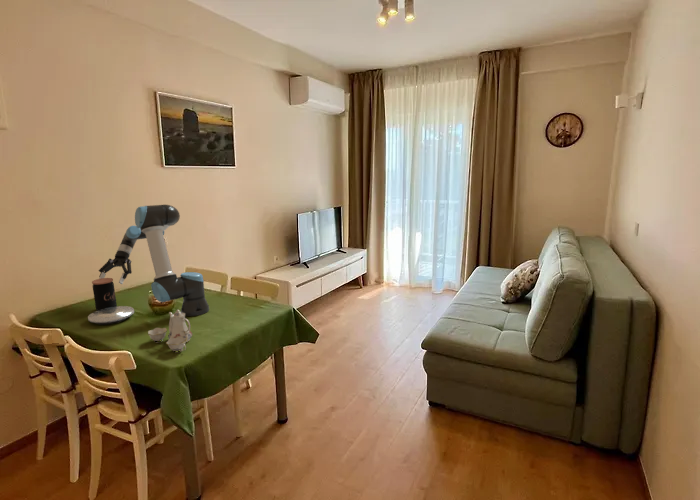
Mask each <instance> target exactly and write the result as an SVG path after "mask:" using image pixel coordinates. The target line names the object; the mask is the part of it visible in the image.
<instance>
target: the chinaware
mask: <svg viewBox="0 0 700 500" xmlns="http://www.w3.org/2000/svg"><path fill="white" fill-rule="evenodd" d="M168 314H169V323H168V330H167V327H163V328H162V327H155V328H153V329H151V330H148V331H147V335H148V336H149V338H150V339H151V340H153V341H154V342H155V341H160V340H162V341H163V339H164V338H165V337H166V334H167V332H168V331H169V333H168V335H167V338H168V340H167V341H165V344H166V345H167V346H168V348H169V349H170V350H171V351H172V352H174V351H179V350H180V352H183V351H186V349H187V346H186V344H187V343H189V342H191V339H192V336H193V332H192V331H191V323H190V320H189V319H187V318H186V316H185V313H182V312H181V310H179V309H176V311H175V312H174V313H172V312H171V311H169V312H168ZM186 322H187V323H186ZM187 325H188V326H187ZM188 341H189V342H188ZM186 342H187V343H186Z"/></svg>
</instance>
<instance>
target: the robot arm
mask: <svg viewBox="0 0 700 500" xmlns="http://www.w3.org/2000/svg"><path fill="white" fill-rule="evenodd" d="M180 217H181V215H180V212H179V210H178V209H177V208H176V207H175V206H173V205H170V204H156V205H155V204H153V205H143V206H138V207H136V209H135V213H134V222H135V223H134V224H135V225H130V226H129V227H128V228H127V229H126V231H125V233H124V235H123V238H122V240H121V242H120V244H119V246H118V248H117V250H116V252H115V255H114V259H112V258H109V259H108V260H107V261H106V263H104V265H102V267H100V268H99V269H98V272H100V274H99V278H98V279H101V278H106V274H107V273H108V272H110V271H111V270H112V269H114V268H117V267H119V268H122V270H123V272H122V273H121V276H120V278H119V280H118V283H119V284H120V285H124V281H125V280H126V279H127V277H128V275H130V274H132V272H133V271H132V265H131V264H132V260H131V259H130V255H131V253H132V251H133V249H134V246H135V244H136V243H137V241H138V240H145V239H146V242H147V246H148V250H149V254H150V258H151V262H152V266H153V270H154V273H155V274H154V275H155V277H154V278H153V282H151V287H150V288H151V292H152V295H153V297H154V298H155V299H156V300H157V301H158V302H160V303H164V302H170V301H174V300H177V299H183V301H182V305H181V309H180V312H182V313H185V317H195V316H201V315H203V314H206V313H208V312H209V311H210V306H209V303H208V300H207V299H206V295H205V282H204V276H203V274H202V273H200V272H196V271H195V272H194V271H191V272H190V271H186V272H182V273H180V276H179V277H178V276H177V273H176V272H173V269H172V265H171V261H170V257H169V254H168V253H169V251H168V249H167V245H166V241H165V237H164V235H165V231H166V230H167V229H168V228H169V227H171V226H175V225H176V224H177V223H178V222H179V221H180V219H181V218H180Z"/></svg>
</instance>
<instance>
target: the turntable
mask: <svg viewBox="0 0 700 500" xmlns="http://www.w3.org/2000/svg"><path fill="white" fill-rule="evenodd" d="M134 313H135V309H134V308H133V307H132V306H127V305H120V306H119V305H118V306H117V307H110V308H105V309H101V310H98V311H97V310H96V311H92V312H91V313H90V314H88V316H87V320H88V322H90V323H92V324H96V323H108V322H114V321H118V320H122V319H125V318H127V317H128V318H130V317H131V316H132V315H134ZM128 318H127V319H128Z"/></svg>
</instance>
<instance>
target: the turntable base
mask: <svg viewBox="0 0 700 500" xmlns="http://www.w3.org/2000/svg"><path fill="white" fill-rule="evenodd" d="M128 318H129V317H127V318H125V319H122V320H118V321H114V322H108V323H95V324H96V325H99V326H100V325H101V326H102V325H103V326H104V325H114V324H118V323H121V322H123V321H126V320H128Z"/></svg>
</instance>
